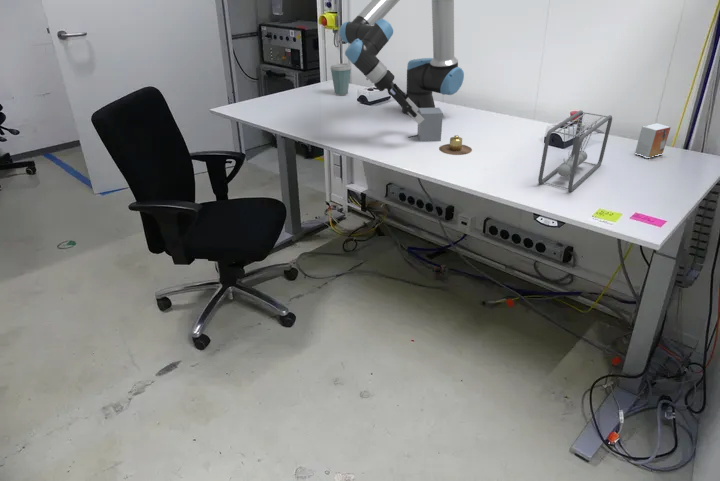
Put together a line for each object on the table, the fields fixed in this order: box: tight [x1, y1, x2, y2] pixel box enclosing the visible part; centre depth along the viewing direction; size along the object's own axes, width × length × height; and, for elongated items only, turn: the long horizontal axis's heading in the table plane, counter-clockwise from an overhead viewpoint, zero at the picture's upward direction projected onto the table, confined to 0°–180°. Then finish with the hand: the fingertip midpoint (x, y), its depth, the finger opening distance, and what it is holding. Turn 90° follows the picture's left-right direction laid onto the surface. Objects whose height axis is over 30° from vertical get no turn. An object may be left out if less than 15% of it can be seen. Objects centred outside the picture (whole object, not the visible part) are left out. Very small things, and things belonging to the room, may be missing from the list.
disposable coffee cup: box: [330, 62, 352, 96], centre depth 259 cm, size 11×11×15 cm
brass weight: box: [449, 135, 463, 151], centre depth 186 cm, size 4×4×5 cm
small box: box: [634, 122, 672, 157], centre depth 179 cm, size 8×6×10 cm
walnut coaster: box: [438, 143, 473, 156], centre depth 188 cm, size 12×12×1 cm
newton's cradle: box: [537, 110, 613, 192], centre depth 163 cm, size 30×10×18 cm, turn 140°
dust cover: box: [416, 107, 443, 143], centre depth 196 cm, size 8×8×11 cm
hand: (419, 116), depth 194 cm, fingers open, 13 cm apart
